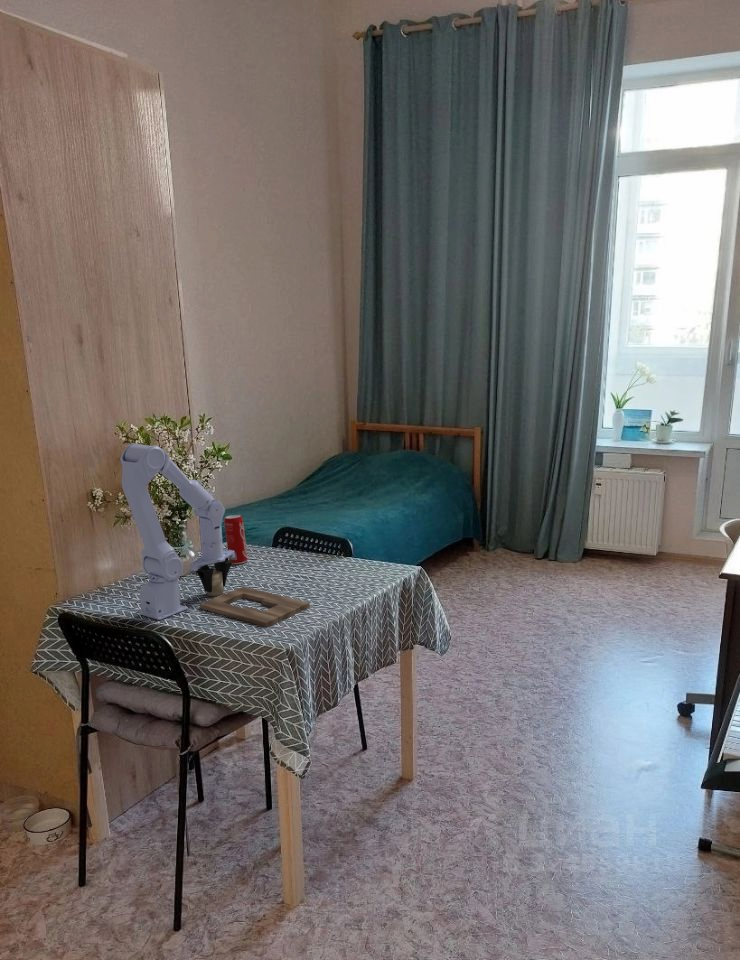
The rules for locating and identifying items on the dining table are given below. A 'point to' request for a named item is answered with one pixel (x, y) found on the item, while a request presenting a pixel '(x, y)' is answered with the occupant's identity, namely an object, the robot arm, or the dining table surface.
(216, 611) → the keyhole plate
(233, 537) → the beverage can
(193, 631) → the dining table surface
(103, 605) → the dining table surface
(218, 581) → the birch peg
